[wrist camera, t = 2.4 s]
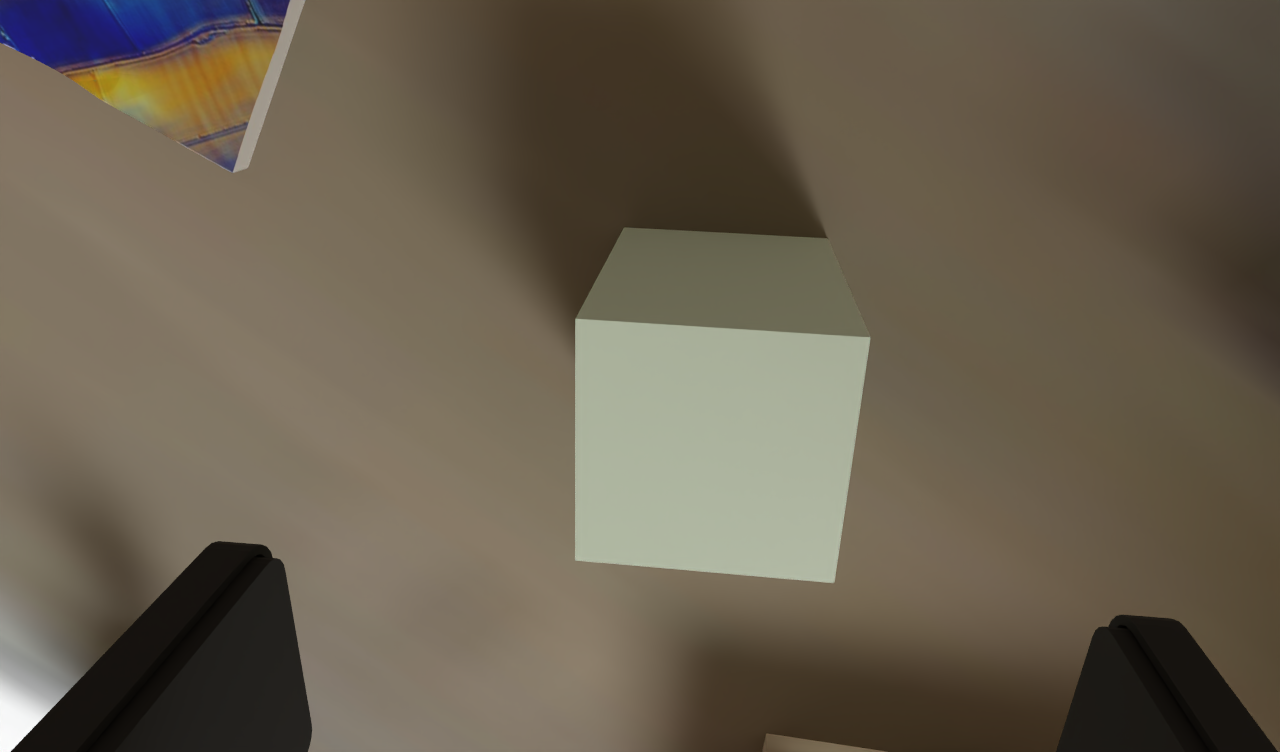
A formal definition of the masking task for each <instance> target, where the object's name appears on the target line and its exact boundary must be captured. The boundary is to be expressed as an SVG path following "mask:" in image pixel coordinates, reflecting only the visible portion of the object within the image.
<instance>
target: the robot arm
mask: <svg viewBox="0 0 1280 752" xmlns="http://www.w3.org/2000/svg"><path fill="white" fill-rule="evenodd" d="M311 735H312V724H311V718H310V712H309V706H308V700H307V695H306V689H305V683H304V677H303V671H302V665H301V660H300V654H299V648H298V642H297V636H296V630H295V625H294V619H293V613H292V607H291V601H290V595H289V590H288V584H287V578H286V572H285V568H284V564H283V563H282V561H281V560H280V559H277V558H272V554H271V552H270V550H269V549H268V548H267V547H266V546H264V545H259V544H246V543H234V542H222V541H218V542H214V543H211V544H210V545H209V546H208V547H206V548H205V549H204V550H203V551H202V552H201V553H200V554H199V556H198V557H197V558H196V559H195V560H194V561H193V562H192V563H191V564H190V565H189V566H188V567H187V568H186V569H185V570H184V571H183V572H182V573H181V574H180V575H179V576H178V577H177V578H176V580H175V581H174V582H173V583H172V584H171V585H170V586H169V587H168V588H167V589H166V590H165V591H164V592H163V593H162V594H161V595H160V596H159V597H158V598H157V599H156V600H155V601H154V603H153V604H152V605H151V606H150V607H149V608H148V609H147V610H146V611H145V612H144V613H143V614H142V615H141V616H140V617H139V618H138V619H137V620H136V621H135V622H134V623H133V624H132V626H131V627H130V628H129V629H128V630H127V631H126V632H125V633H124V634H123V635H122V636H121V637H120V638H119V639H118V640H117V641H116V642H115V643H114V644H113V645H112V646H111V647H110V648H109V650H108V651H107V652H106V653H105V654H104V655H103V656H102V657H101V658H100V659H99V660H98V661H97V662H96V663H95V664H94V665H93V666H92V667H91V668H90V669H89V670H88V671H87V673H86V674H85V675H84V676H83V677H82V678H81V679H80V680H79V681H78V682H77V683H76V684H75V685H74V686H73V687H72V688H71V689H70V690H69V691H68V692H67V693H66V694H65V696H64V697H63V698H62V699H61V700H60V701H59V702H58V703H57V704H56V705H55V706H54V707H53V708H52V709H51V710H50V711H49V712H48V713H47V714H46V715H45V716H44V717H43V718H42V720H41V721H40V722H39V723H38V724H37V725H36V726H35V727H34V728H33V729H32V730H31V731H30V732H29V733H28V734H27V735H26V736H25V737H24V738H23V739H22V740H21V741H20V743H19V744H18V745H17V746H16V747H15V748H14V749H13V750H12V751H11V752H308V749H309V746H310V741H311ZM1056 752H1278V751H1277V750H1276V749H1275V747H1274V746H1273V745H1272V743H1271V742H1270V740H1269V739H1268V738H1267V736H1266V735H1265V734H1264V732H1263V731H1262V730H1261V728H1260V727H1259V726H1258V724H1257V723H1256V722H1255V720H1254V719H1253V718H1252V716H1251V715H1250V714H1249V712H1248V711H1247V710H1246V708H1245V707H1244V706H1243V704H1242V703H1241V702H1240V700H1239V699H1238V698H1237V696H1236V695H1235V694H1234V692H1233V691H1232V690H1231V688H1230V687H1229V686H1228V684H1227V683H1226V682H1225V680H1224V679H1223V678H1222V676H1221V675H1220V673H1219V672H1218V671H1217V669H1216V668H1215V667H1214V665H1213V664H1212V663H1211V661H1210V660H1209V659H1208V657H1207V656H1206V655H1205V653H1204V652H1203V651H1202V649H1201V648H1200V647H1199V645H1198V644H1197V643H1196V641H1195V640H1194V639H1193V637H1192V636H1191V635H1190V633H1189V632H1188V631H1187V629H1186V628H1185V627H1184V626H1183V625H1182V624H1181V623H1180V622H1179V621H1176V620H1174V619H1168V618H1156V617H1144V616H1131V615H1119V616H1116V617H1115V618H1114V619H1113V620H1112V621H1111V623H1110V625H1109V627H1099V628H1098V629H1097V630H1096V631H1095V633H1094V635H1093V637H1092V640H1091V643H1090V646H1089V649H1088V653H1087V656H1086V659H1085V662H1084V665H1083V668H1082V672H1081V675H1080V678H1079V681H1078V684H1077V687H1076V691H1075V694H1074V697H1073V700H1072V703H1071V706H1070V710H1069V713H1068V716H1067V719H1066V722H1065V725H1064V729H1063V732H1062V735H1061V738H1060V741H1059V744H1058V748H1057V751H1056Z"/></svg>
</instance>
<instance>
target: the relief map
mask: <svg viewBox="0 0 1280 752" xmlns="http://www.w3.org/2000/svg"><path fill="white" fill-rule="evenodd" d="M304 2H305V0H0V43H2V44H4V45H7V46H9V47H11V48H13V49H15V50H17V51H19V52H21V53H23V54H25V55H28V56H30V57H32V58H34V59H36V60H38V61H40V62H42V63H44V64H45V65H47V66H49V67H51V68H53V69H55V70H57V71H58V72H60V73H62V74H64V75H65V76H67V77H68V78H70V79H72V80H73V81H75V82H76V83H78V84H79V85H81V86H82V87H83V88H85V89H86V90H87V91H89V92H90V93H92V94H93V95H94V96H96V97H98V98H99V99H101V100H103V101H104V102H106V103H108V104H109V105H111V106H113V107H115V108H116V109H118V110H120V111H122V112H124V113H126V114H127V115H129V116H131V117H133V118H135V119H136V120H138V121H140V122H142V123H144V124H145V125H147V126H149V127H151V128H153V129H155V130H156V131H158V132H160V133H162V134H163V135H165V136H167V137H169V138H170V139H172V140H174V141H176V142H178V143H179V144H181V145H183V146H185V147H186V148H188V149H190V150H192V151H194V152H195V153H197V154H199V155H201V156H203V157H204V158H206V159H208V160H210V161H212V162H213V163H215V164H217V165H219V166H221V167H223V168H224V169H226V170H228V171H230V172H232V173H234V172H237V171H241V170H244V169H247V168H248V166H249V163H250V160H251V158H252V155H253V152H254V149H255V146H256V143H257V140H258V137H259V134H260V131H261V128H262V125H263V122H264V120H265V117H266V114H267V111H268V108H269V105H270V102H271V99H272V96H273V93H274V90H275V87H276V84H277V81H278V79H279V76H280V73H281V70H282V67H283V64H284V61H285V58H286V55H287V52H288V49H289V46H290V43H291V40H292V38H293V35H294V32H295V29H296V26H297V23H298V20H299V17H300V14H301V11H302V8H303V5H304Z"/></svg>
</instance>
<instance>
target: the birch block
mask: <svg viewBox="0 0 1280 752" xmlns="http://www.w3.org/2000/svg"><path fill="white" fill-rule="evenodd" d="M762 752H886V751H879V750H873V749H866V748H860V747H853V746H846V745H840V744H833V743H827V742H820V741H814V740H807V739H801V738H794V737H788V736H781V735H774V734H768V733H766V736H765V741H764V746H763V751H762Z"/></svg>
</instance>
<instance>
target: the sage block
mask: <svg viewBox="0 0 1280 752" xmlns="http://www.w3.org/2000/svg"><path fill="white" fill-rule="evenodd" d="M870 338H871V337H870V335H869V333H868V330H867V328H866V326H865V323H864V321H863V319H862V316H861V314H860V312H859V309H858V307H857V305H856V303H855V300H854V298H853V296H852V293H851V291H850V289H849V286H848V284H847V282H846V279H845V277H844V275H843V272H842V270H841V268H840V265H839V263H838V261H837V258H836V256H835V254H834V251H833V249H832V247H831V244H830V242H829V240H828V238H811V237H793V236H775V235H756V234H738V233H719V232H701V231H683V230H664V229H646V228H628V227H624V228H623V230H622V232H621V234H620V236H619V238H618V240H617V242H616V243H615V245H614V247H613V249H612V251H611V253H610V255H609V257H608V258H607V260H606V262H605V264H604V266H603V268H602V270H601V272H600V273H599V275H598V277H597V279H596V281H595V283H594V285H593V287H592V288H591V290H590V292H589V294H588V296H587V298H586V300H585V302H584V304H583V305H582V307H581V309H580V311H579V313H578V315H577V317H576V319H575V560H577V561H588V562H600V563H611V564H622V565H634V566H645V567H657V568H668V569H679V570H691V571H702V572H714V573H725V574H736V575H748V576H759V577H771V578H782V579H793V580H805V581H816V582H827V583H834V581H835V574H836V567H837V561H838V554H839V547H840V540H841V534H842V527H843V520H844V513H845V507H846V500H847V493H848V486H849V480H850V473H851V466H852V459H853V453H854V446H855V439H856V432H857V426H858V419H859V412H860V405H861V399H862V392H863V385H864V378H865V372H866V365H867V358H868V351H869V345H870Z"/></svg>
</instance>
